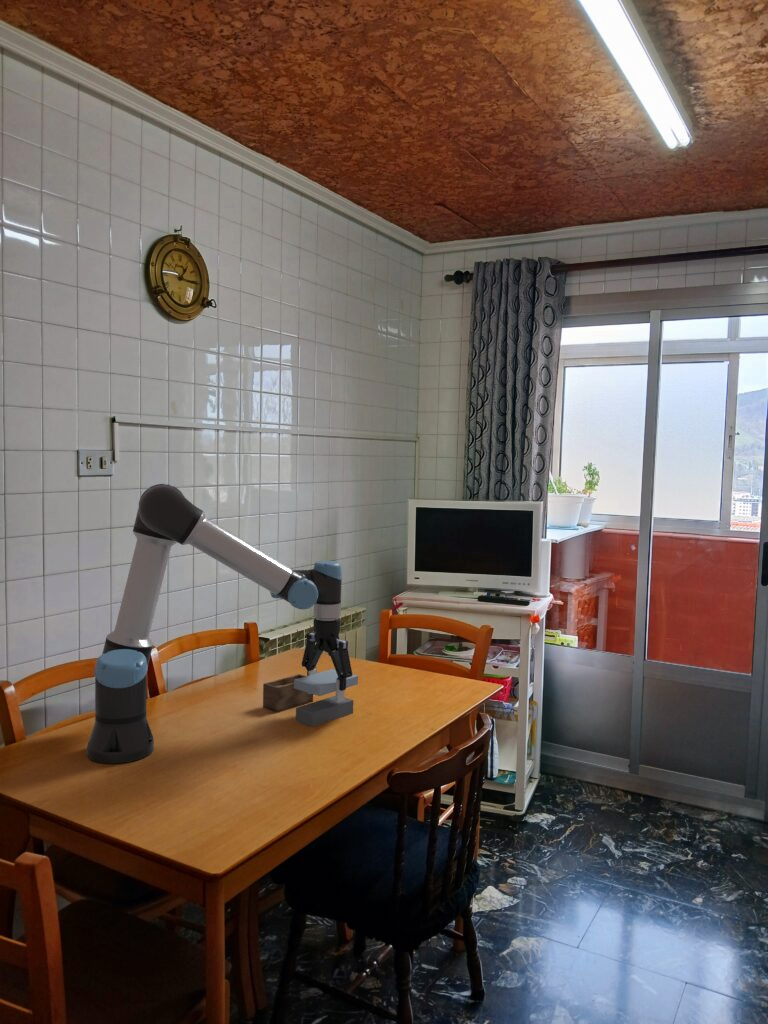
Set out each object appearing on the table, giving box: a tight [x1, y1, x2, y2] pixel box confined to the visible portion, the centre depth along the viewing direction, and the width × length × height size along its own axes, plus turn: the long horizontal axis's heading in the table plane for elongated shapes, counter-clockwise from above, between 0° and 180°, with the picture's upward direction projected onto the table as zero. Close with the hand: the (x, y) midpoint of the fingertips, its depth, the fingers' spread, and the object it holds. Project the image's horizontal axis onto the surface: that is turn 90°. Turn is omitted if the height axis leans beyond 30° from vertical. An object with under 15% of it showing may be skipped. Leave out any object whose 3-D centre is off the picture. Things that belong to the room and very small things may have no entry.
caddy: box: [262, 673, 314, 713], centre depth 220 cm, size 14×6×7 cm, turn 139°
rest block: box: [295, 695, 354, 728], centre depth 210 cm, size 16×6×4 cm, turn 139°
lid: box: [294, 668, 359, 697], centre depth 210 cm, size 15×10×2 cm, turn 139°
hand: (326, 697), depth 210 cm, fingers closed on lid, 10 cm apart
